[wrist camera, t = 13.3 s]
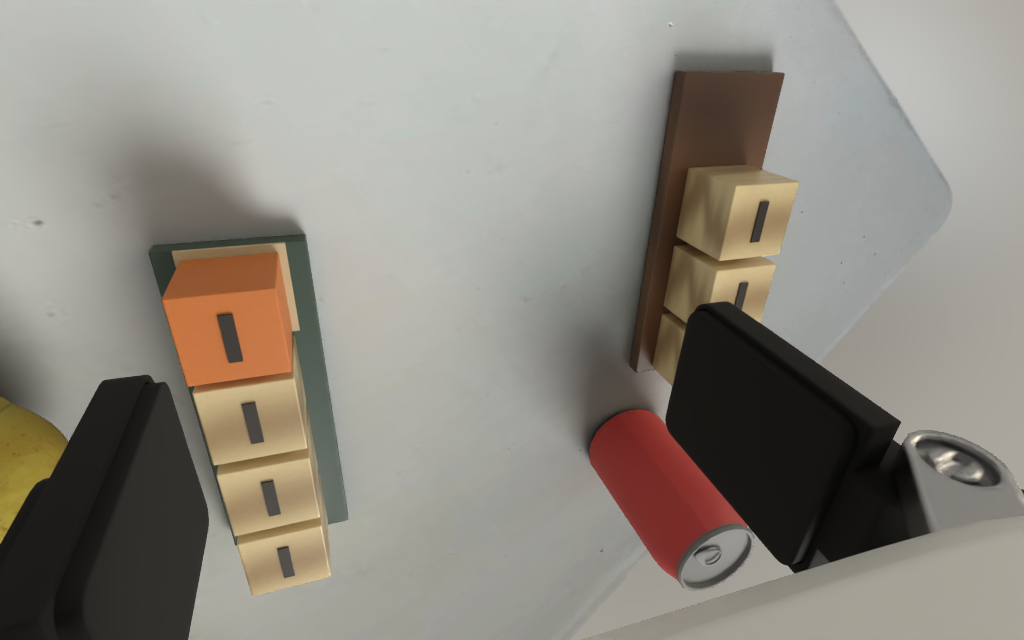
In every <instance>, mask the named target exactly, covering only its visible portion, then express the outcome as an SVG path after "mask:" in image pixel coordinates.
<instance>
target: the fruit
mask: <svg viewBox="0 0 1024 640" xmlns="http://www.w3.org/2000/svg"><path fill="white" fill-rule="evenodd" d="M67 444H68V441H67V439H66V438H65V436H64V435H63V434H62V433H61V432H60V431H59V430H58V429H57V428H56V427H55V426H54V425H53V424H52V423H50V422H49V421H47V420H45V419H44V418H42V417H40V416H39V415H37V414H35V413H33V412H31V411H29V410H27V409H25V408H22V407H20V406H18V405H16V404H13V403H12V402H10V401H8V400H6V399H5V398H3V397H1V396H0V544H1V542H2V540H3V538H4V536H5V535H6V533H7V531H8V529H9V528H10V526H11V524H12V522H13V520H14V519H15V517H16V515H17V513H18V512H19V510H20V508H21V506H22V504H23V503H24V501H25V499H26V497H27V496H28V494H29V492H30V491H31V490H32V488H33V487H34V486H35V484H36V483H38V482H39V481H41V480H43V479H46V478H50V476H51V474H52V472H53V470H54V468H55V467H56V465H57V463H58V461H59V459H60V457H61V455H62V454H63V452H64V450H65V448H66V446H67Z"/></svg>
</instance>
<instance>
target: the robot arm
mask: <svg viewBox="0 0 1024 640" xmlns="http://www.w3.org/2000/svg"><path fill="white" fill-rule="evenodd" d="M900 423H901V422H900V421H899V420H898V419H896V418H895V417H893V416H892V415H891V414H889V413H888V412H886V411H885V410H883V409H882V408H881V407H879V406H877V405H876V404H875V403H873V402H872V401H871V400H869V399H868V398H866V397H865V396H863V395H862V394H860V393H859V392H858V391H856V390H855V389H854V388H852V387H851V386H849V385H848V384H846V383H845V382H844V381H842V380H841V379H839V378H838V377H836V376H835V375H833V374H832V373H831V372H829V371H828V370H826V369H825V368H823V367H822V366H821V365H819V364H818V363H816V362H815V361H813V360H812V359H811V358H809V357H808V356H806V355H805V354H803V353H802V352H801V351H799V350H798V349H796V348H795V347H793V346H792V345H791V344H789V343H788V342H786V341H785V340H783V339H782V338H781V337H779V336H778V335H776V334H775V333H773V332H772V331H771V330H769V329H768V328H766V327H765V326H763V325H762V324H761V323H759V322H758V321H756V320H755V319H753V318H752V317H751V316H749V315H748V314H746V313H745V312H743V311H742V310H741V309H739V308H738V307H736V306H735V305H733V304H732V303H730V302H728V301H722V302H714V303H707V304H701V305H699V306H697V308H696V309H695V310H694V312H693V313H691V314H690V316H689V318H688V320H687V325H686V329H685V334H684V338H683V343H682V347H681V351H680V356H679V360H678V365H677V369H676V373H675V378H674V382H673V387H672V391H671V395H670V400H669V404H668V409H667V413H666V426H667V429H668V431H669V433H670V435H671V436H672V437H673V438H674V439H675V441H676V442H677V443H678V444H679V445H680V446H681V448H682V449H683V450H684V451H685V452H686V454H687V455H688V456H689V457H690V458H691V459H692V461H693V462H694V463H695V464H696V465H697V466H698V468H699V469H700V470H701V471H702V472H703V473H704V475H705V476H706V477H707V478H708V479H709V481H710V482H711V483H712V484H713V485H714V486H715V488H716V489H717V490H718V491H719V492H720V493H721V495H722V496H723V497H724V498H725V499H726V501H727V502H728V503H729V504H730V505H731V506H732V508H733V509H734V510H735V511H736V512H737V513H738V515H739V516H740V517H741V518H742V519H743V520H744V522H745V523H746V524H747V525H748V526H749V528H750V529H751V530H752V531H753V532H754V533H755V535H756V536H757V537H758V538H759V539H760V540H761V542H762V543H763V544H764V545H765V546H766V547H767V549H768V550H769V551H770V552H771V553H772V555H773V556H774V557H775V558H776V559H777V560H778V561H779V562H780V563H782V564H784V565H788V566H789V567H790V569H791V570H792V571H793V572H794V573H795V574H792V575H789V576H785V577H782V578H779V579H776V580H772V581H769V582H766V583H763V584H759V585H756V586H753V587H749V588H746V589H743V590H740V591H737V592H734V593H730V594H727V595H724V596H721V597H717V598H714V599H711V600H708V601H705V602H702V603H698V604H695V605H692V606H689V607H686V608H682V609H679V610H676V611H673V612H670V613H667V614H663V615H660V616H657V617H654V618H650V619H647V620H644V621H641V622H638V623H635V624H631V625H628V626H625V627H622V628H619V629H616V630H612V631H609V632H606V633H603V634H600V635H597V636H594V637H590V638H588V639H584V640H1024V490H1022V489H1020V487H1019V485H1018V483H1017V481H1016V480H1015V478H1014V476H1013V474H1012V473H1011V472H1010V470H1009V469H1008V468H1007V467H1006V465H1005V464H1004V463H1003V462H1001V461H1000V460H999V459H998V458H997V457H996V456H994V455H993V454H992V453H990V452H988V451H987V450H985V449H983V448H982V447H980V446H979V445H976V444H974V443H972V442H970V441H968V440H965V439H963V438H961V437H958V436H954V435H951V434H948V433H944V432H938V431H932V430H918V431H915V432H912V433H910V434H908V436H907V437H906V438H905V440H904V442H903V443H902V445H899V444H898V443H897V442H895V441H894V440H893V438H894V435H895V433H896V431H897V429H898V427H899V425H900ZM208 526H209V516H208V508H207V504H206V501H205V498H204V495H203V492H202V489H201V486H200V482H199V479H198V476H197V473H196V470H195V467H194V464H193V461H192V457H191V454H190V451H189V448H188V445H187V442H186V439H185V436H184V433H183V429H182V426H181V423H180V420H179V417H178V414H177V411H176V408H175V404H174V401H173V398H172V395H171V392H170V389H169V387H168V385H167V384H166V383H165V382H160V383H154V381H153V379H152V378H151V376H149V375H141V376H133V377H125V378H117V379H109V380H104V381H102V382H101V384H100V385H99V387H98V389H97V390H96V392H95V394H94V396H93V398H92V400H91V402H90V403H89V405H88V407H87V409H86V411H85V413H84V415H83V416H82V418H81V420H80V422H79V424H78V426H77V428H76V429H75V431H74V433H73V435H72V437H71V439H70V441H69V442H68V444H67V446H66V448H65V450H64V452H63V454H62V455H61V457H60V459H59V461H58V463H57V465H56V467H55V468H54V470H53V472H52V474H51V476H50V478H46V479H43V480H41V481H39V482H38V483H36V484H35V486H34V487H33V488H32V490H31V491H30V492H29V494H28V496H27V497H26V499H25V501H24V503H23V504H22V506H21V508H20V510H19V512H18V513H17V515H16V517H15V519H14V520H13V522H12V524H11V526H10V528H9V529H8V531H7V533H6V535H5V536H4V538H3V540H2V542H1V544H0V640H188V637H189V631H190V626H191V620H192V615H193V609H194V604H195V599H196V593H197V588H198V582H199V577H200V571H201V566H202V560H203V555H204V549H205V544H206V538H207V533H208Z"/></svg>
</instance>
